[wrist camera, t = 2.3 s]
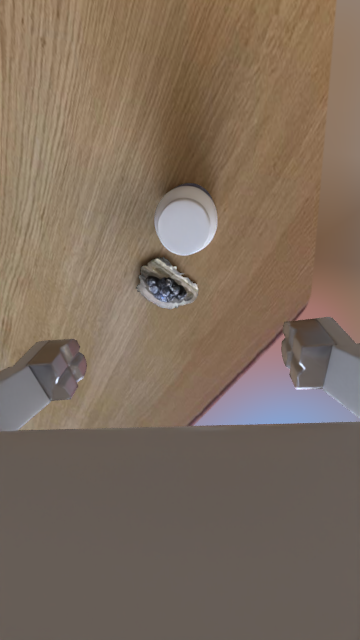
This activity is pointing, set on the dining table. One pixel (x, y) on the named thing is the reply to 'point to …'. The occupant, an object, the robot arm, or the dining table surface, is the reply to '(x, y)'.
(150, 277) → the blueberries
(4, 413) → the robot arm
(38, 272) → the dining table surface
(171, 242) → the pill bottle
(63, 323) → the dining table surface
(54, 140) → the dining table surface
